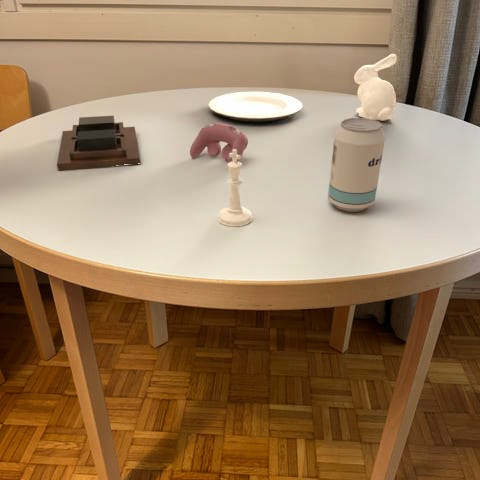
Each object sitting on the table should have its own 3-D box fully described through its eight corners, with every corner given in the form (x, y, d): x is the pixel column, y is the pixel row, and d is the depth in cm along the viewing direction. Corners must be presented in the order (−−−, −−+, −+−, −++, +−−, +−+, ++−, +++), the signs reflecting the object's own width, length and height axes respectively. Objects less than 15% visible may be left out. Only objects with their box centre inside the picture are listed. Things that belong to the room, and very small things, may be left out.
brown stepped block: (58, 170, 90) (53, 146, 88) (63, 137, 104) (59, 115, 102) (140, 164, 93) (138, 140, 90) (135, 132, 107) (132, 111, 104)
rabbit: (345, 110, 120) (352, 52, 113) (382, 106, 122) (391, 49, 115) (372, 126, 111) (382, 63, 103) (411, 122, 113) (423, 60, 106)
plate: (304, 101, 125) (304, 93, 124) (298, 129, 109) (299, 119, 108) (217, 98, 128) (217, 89, 127) (199, 124, 111) (199, 114, 110)
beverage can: (364, 219, 76) (378, 135, 69) (320, 208, 79) (328, 126, 71) (379, 201, 81) (393, 121, 74) (336, 192, 84) (346, 113, 76)
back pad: (80, 156, 92) (76, 139, 91) (80, 148, 96) (77, 131, 94) (117, 154, 93) (115, 137, 92) (117, 145, 97) (114, 129, 95)
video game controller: (244, 171, 94) (254, 131, 93) (231, 167, 90) (241, 125, 89) (200, 160, 99) (209, 121, 97) (186, 155, 95) (195, 115, 93)
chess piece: (233, 208, 79) (233, 141, 73) (259, 218, 76) (260, 149, 70) (210, 219, 76) (208, 150, 70) (236, 230, 73) (236, 159, 67)
